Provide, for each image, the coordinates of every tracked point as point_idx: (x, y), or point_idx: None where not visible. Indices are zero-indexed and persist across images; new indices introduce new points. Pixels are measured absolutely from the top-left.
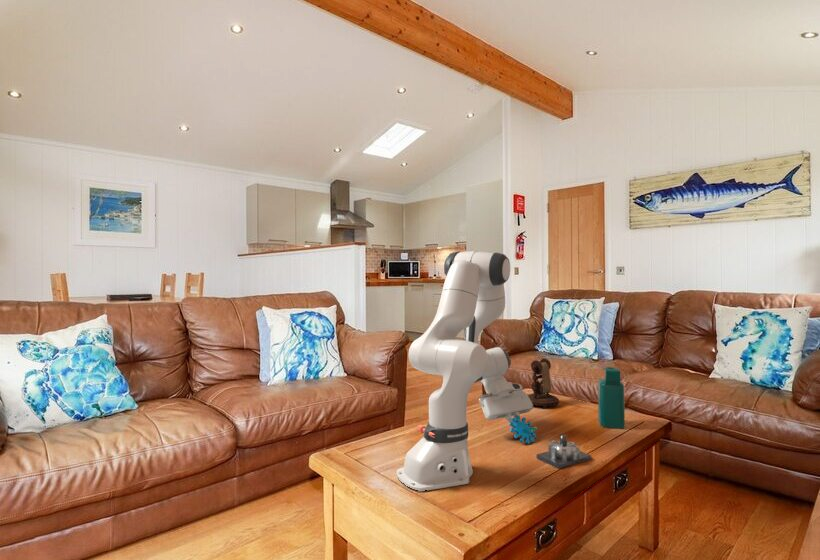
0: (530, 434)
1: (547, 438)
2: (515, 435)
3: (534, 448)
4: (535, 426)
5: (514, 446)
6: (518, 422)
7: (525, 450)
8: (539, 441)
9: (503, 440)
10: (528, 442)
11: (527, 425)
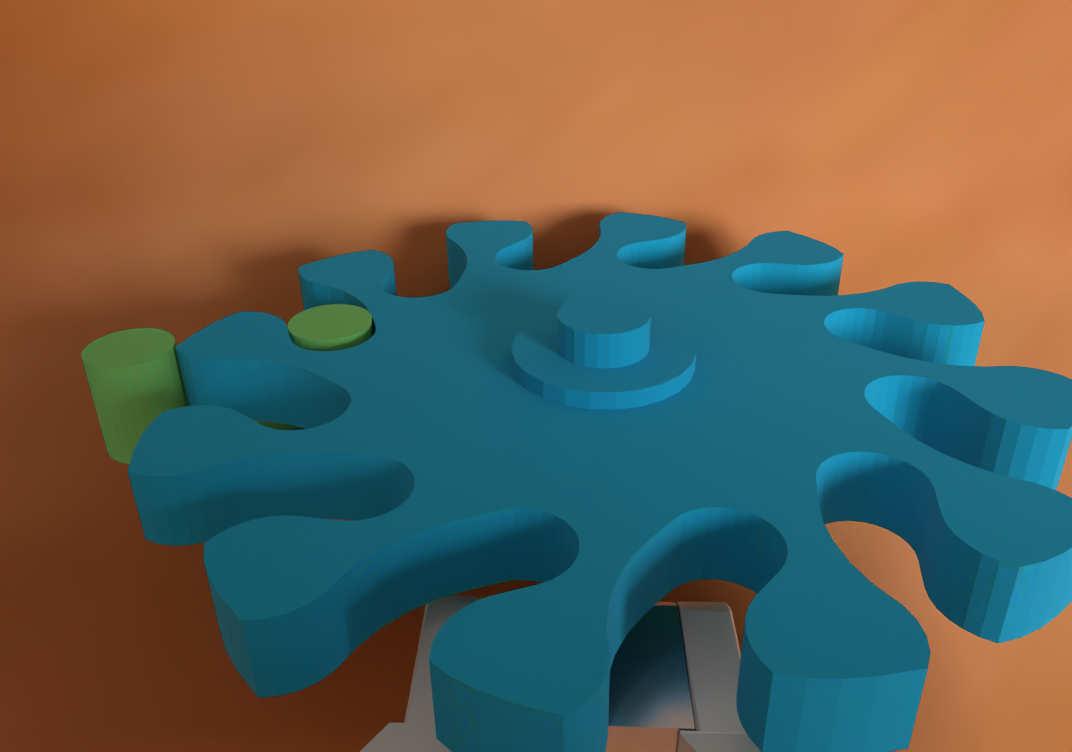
0: (465, 284)
1: (36, 281)
2: (973, 305)
3: (679, 54)
4: (101, 361)
5: None
6: (679, 502)
7: (899, 70)
8: (315, 249)
9: (975, 725)
10: (649, 218)
11: (364, 404)
